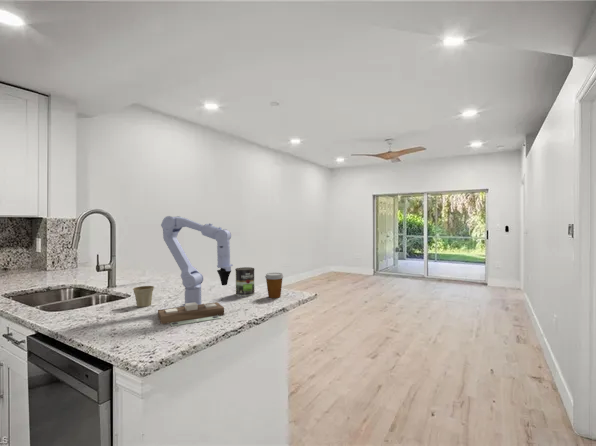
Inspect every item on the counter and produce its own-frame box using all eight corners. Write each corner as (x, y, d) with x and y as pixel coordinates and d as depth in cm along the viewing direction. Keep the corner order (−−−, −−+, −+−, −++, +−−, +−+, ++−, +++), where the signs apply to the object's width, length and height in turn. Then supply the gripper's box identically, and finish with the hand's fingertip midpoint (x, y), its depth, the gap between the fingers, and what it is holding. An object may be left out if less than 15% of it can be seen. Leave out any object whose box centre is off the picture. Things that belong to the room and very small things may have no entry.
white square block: (203, 312, 145) (203, 304, 145) (213, 310, 147) (213, 303, 147) (206, 314, 141) (206, 306, 141) (216, 312, 143) (216, 305, 143)
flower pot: (128, 307, 156) (128, 288, 156) (144, 302, 165) (144, 285, 165) (143, 309, 152) (143, 290, 152) (158, 304, 161) (158, 286, 161)
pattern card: (169, 323, 130) (169, 322, 130) (217, 316, 139) (217, 315, 139) (171, 326, 126) (171, 325, 126) (220, 318, 136) (220, 317, 136)
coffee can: (257, 295, 178) (257, 268, 178) (238, 297, 173) (238, 270, 173) (251, 291, 187) (250, 266, 187) (233, 293, 183) (232, 268, 182)
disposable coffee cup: (283, 298, 169) (282, 275, 169) (264, 299, 169) (264, 275, 169) (284, 294, 178) (283, 272, 178) (266, 294, 178) (266, 272, 178)
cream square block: (164, 317, 137) (164, 309, 137) (176, 316, 139) (175, 308, 139) (166, 320, 133) (166, 312, 133) (177, 318, 135) (177, 310, 135)
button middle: (184, 311, 141) (184, 303, 141) (195, 309, 143) (195, 302, 143) (186, 313, 137) (186, 305, 137) (197, 312, 139) (197, 304, 139)
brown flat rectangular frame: (157, 317, 139) (157, 310, 139) (217, 308, 151) (216, 302, 151) (161, 324, 129) (161, 316, 129) (224, 314, 141) (224, 307, 141)
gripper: (237, 256, 149) (237, 286, 149) (227, 253, 161) (228, 281, 161) (221, 257, 145) (222, 288, 145) (212, 254, 158) (213, 283, 158)
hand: (224, 285), depth 153 cm, fingers closed
